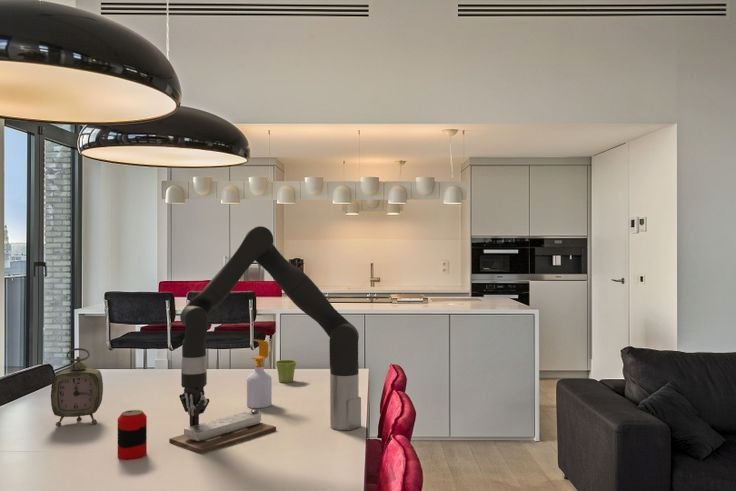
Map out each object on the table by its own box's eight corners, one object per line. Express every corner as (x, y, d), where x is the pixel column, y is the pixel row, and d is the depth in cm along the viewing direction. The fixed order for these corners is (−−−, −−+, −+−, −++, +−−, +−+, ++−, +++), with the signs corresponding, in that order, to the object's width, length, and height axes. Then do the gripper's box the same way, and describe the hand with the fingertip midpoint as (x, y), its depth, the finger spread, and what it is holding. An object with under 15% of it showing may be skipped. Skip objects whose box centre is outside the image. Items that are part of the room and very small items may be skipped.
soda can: (137, 449, 172) (137, 407, 172) (151, 455, 167) (151, 412, 167) (112, 456, 166) (112, 413, 166) (126, 462, 161) (126, 418, 161)
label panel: (276, 430, 190) (276, 424, 190) (201, 453, 168) (201, 447, 168) (243, 421, 200) (243, 415, 200) (169, 442, 178) (169, 436, 178)
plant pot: (272, 380, 263) (272, 360, 263) (293, 378, 267) (293, 359, 267) (278, 384, 254) (278, 364, 254) (299, 382, 258) (299, 362, 258)
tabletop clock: (50, 429, 191) (50, 351, 191) (57, 421, 200) (57, 346, 200) (99, 425, 195) (99, 349, 195) (103, 418, 204) (104, 345, 204)
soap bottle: (241, 406, 218) (241, 339, 219) (257, 401, 226) (257, 336, 227) (261, 409, 214) (261, 341, 214) (276, 404, 222) (276, 338, 223)
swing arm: (266, 421, 192) (266, 411, 192) (198, 441, 172) (198, 430, 172) (252, 417, 197) (252, 407, 197) (184, 436, 177) (184, 425, 177)
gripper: (217, 371, 183) (217, 428, 183) (192, 366, 191) (192, 420, 191) (196, 375, 177) (196, 434, 177) (171, 370, 185) (171, 425, 185)
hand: (194, 426), depth 184 cm, fingers closed
